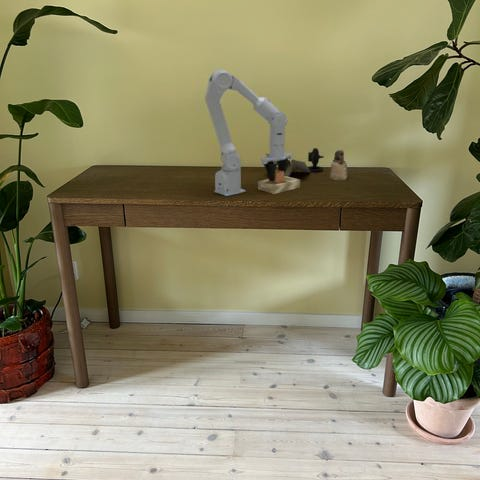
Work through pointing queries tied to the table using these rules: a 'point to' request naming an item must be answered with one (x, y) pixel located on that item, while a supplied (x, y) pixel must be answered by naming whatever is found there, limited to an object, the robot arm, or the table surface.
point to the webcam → (314, 160)
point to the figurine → (338, 167)
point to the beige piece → (279, 185)
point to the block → (278, 177)
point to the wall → (294, 166)
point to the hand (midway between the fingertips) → (276, 179)
